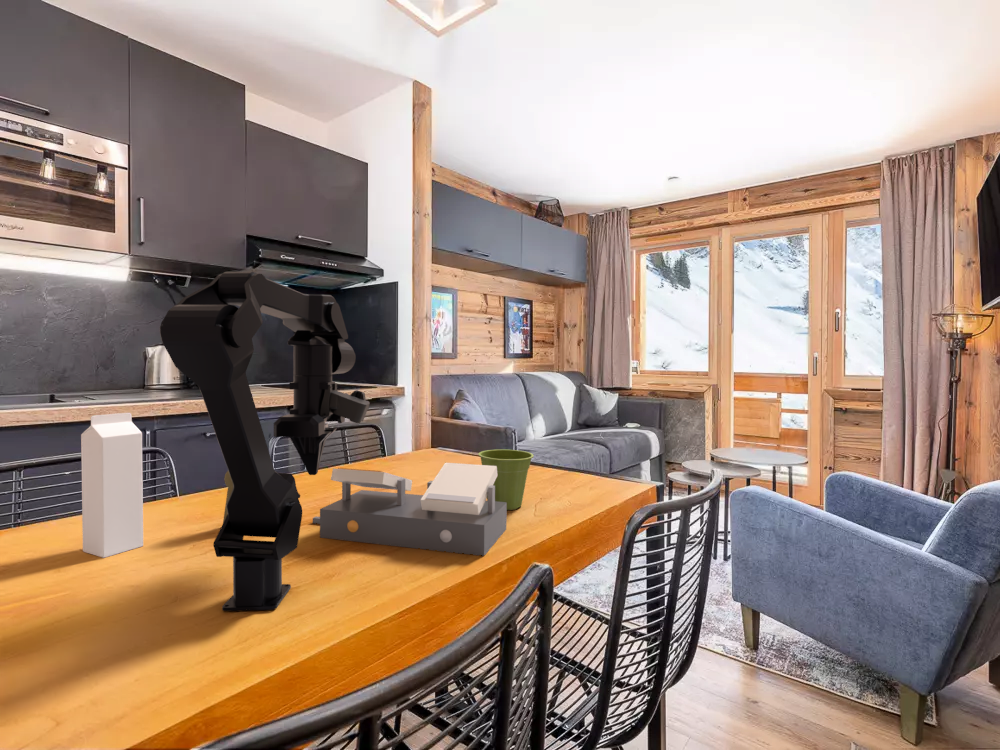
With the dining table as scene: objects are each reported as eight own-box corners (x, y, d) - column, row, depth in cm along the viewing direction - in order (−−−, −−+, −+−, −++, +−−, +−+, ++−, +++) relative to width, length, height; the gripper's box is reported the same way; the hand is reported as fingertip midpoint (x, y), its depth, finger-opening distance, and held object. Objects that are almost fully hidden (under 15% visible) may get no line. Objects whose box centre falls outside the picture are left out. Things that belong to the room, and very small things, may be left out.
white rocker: (478, 514, 86) (477, 503, 86) (422, 509, 89) (420, 498, 88) (497, 475, 97) (496, 465, 96) (446, 471, 100) (445, 461, 99)
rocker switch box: (483, 556, 84) (484, 497, 84) (289, 534, 94) (289, 481, 94) (506, 529, 98) (506, 478, 98) (335, 512, 107) (335, 465, 107)
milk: (82, 552, 85) (79, 414, 84) (123, 540, 90) (120, 411, 89) (104, 558, 82) (100, 416, 81) (144, 546, 87) (142, 413, 87)
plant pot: (501, 517, 105) (502, 461, 105) (466, 504, 114) (467, 452, 114) (544, 507, 112) (545, 454, 112) (508, 496, 122) (508, 447, 121)
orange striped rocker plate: (382, 484, 90) (384, 471, 91) (330, 479, 93) (333, 467, 93) (410, 490, 101) (412, 479, 102) (363, 487, 104) (365, 475, 104)
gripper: (354, 378, 74) (353, 488, 75) (374, 374, 93) (374, 462, 93) (272, 377, 73) (272, 489, 74) (309, 373, 92) (309, 462, 92)
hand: (313, 474), depth 83 cm, fingers closed
